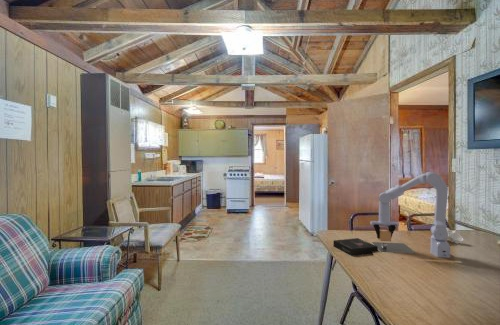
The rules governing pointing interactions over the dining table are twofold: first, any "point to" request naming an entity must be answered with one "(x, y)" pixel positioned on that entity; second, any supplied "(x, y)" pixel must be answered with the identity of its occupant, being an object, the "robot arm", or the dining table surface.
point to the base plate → (393, 247)
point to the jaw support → (454, 236)
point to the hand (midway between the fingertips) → (384, 238)
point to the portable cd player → (355, 246)
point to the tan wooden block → (385, 235)
